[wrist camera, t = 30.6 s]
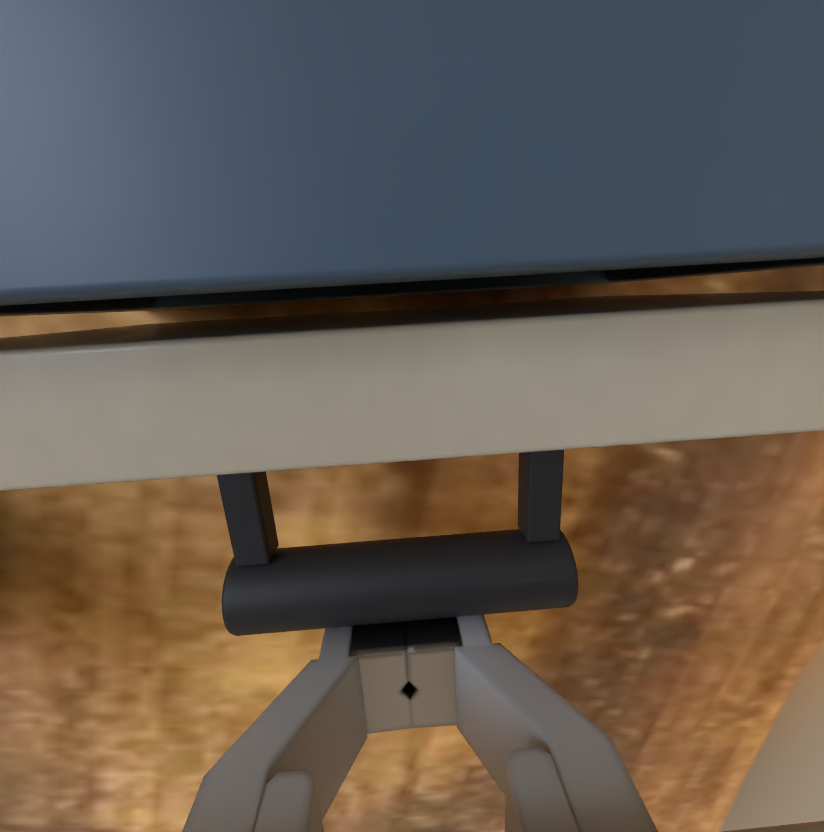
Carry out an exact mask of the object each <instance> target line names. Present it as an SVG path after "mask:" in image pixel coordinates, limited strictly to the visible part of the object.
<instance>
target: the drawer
mask: <svg viewBox="0 0 824 832" xmlns="http://www.w3.org/2000/svg"><path fill="white" fill-rule="evenodd" d="M822 430H824V291H797V292H755V293H714V294H672V295H630V296H603V297H586V298H570V299H553V300H537V301H520V302H504V303H488V304H471V305H455V306H438V307H422V308H406V309H389V310H373V311H356V312H340V313H323V314H307V315H291V316H274V317H258V318H241V319H225V320H208V321H192V322H176V323H159V324H145V325H135V326H124V327H114V328H103V329H93V330H82V331H72V332H61V333H50V334H40V335H29V336H19V337H8V338H0V491H6V490H19V489H33V488H47V487H60V486H74V485H87V484H101V483H115V482H128V481H142V480H155V479H169V478H183V477H196V476H210V475H217V478H218V482H219V487H220V492H221V497H222V501H223V506H224V511H225V516H226V520H227V525H228V530H229V534H230V539H231V544H232V549H233V553H234V558H233V559H232V561H231V562H230V564H229V567H228V569H227V572H226V576H225V580H224V585H223V592H222V614H223V620H224V624H225V627H226V629H227V630H228V632H229V633H231V634H233V635H236V636H240V635H252V634H263V633H275V632H286V631H298V630H310V629H321V628H333V627H344V626H356V625H367V624H379V623H390V622H402V621H413V620H425V619H436V618H448V617H459V616H471V615H482V614H494V613H505V612H517V611H528V610H540V609H551V608H563V607H569V606H571V605H573V604H574V603H575V601H576V599H577V595H578V575H577V568H576V563H575V559H574V555H573V552H572V550H571V547H570V544H569V542H568V540H567V538H566V537H565V535H564V534H563V532H562V531H561V530H560V519H561V500H562V481H563V461H564V449H577V448H590V447H604V446H618V445H631V444H645V443H658V442H672V441H686V440H699V439H713V438H726V437H740V436H754V435H767V434H781V433H794V432H808V431H822ZM509 453H519V484H518V527H519V529H515V530H502V531H490V532H477V533H465V534H452V535H440V536H427V537H415V538H402V539H390V540H377V541H365V542H352V543H340V544H327V545H315V546H302V547H290V548H277V547H278V539H277V534H276V528H275V522H274V516H273V511H272V505H271V499H270V493H269V488H268V482H267V476H266V471H278V470H291V469H305V468H319V467H332V466H346V465H359V464H373V463H387V462H400V461H414V460H427V459H441V458H455V457H468V456H482V455H495V454H509Z"/></svg>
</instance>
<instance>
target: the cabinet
mask: <svg viewBox="0 0 824 832" xmlns="http://www.w3.org/2000/svg"><path fill="white" fill-rule="evenodd" d="M823 265H824V0H0V316H23V315H49V314H75V313H101V312H126V311H149V310H165V309H182V308H199V307H216V306H232V305H249V304H266V303H283V302H299V301H316V300H333V299H350V298H366V297H383V296H400V295H416V294H433V293H450V292H467V291H483V290H500V289H517V288H534V287H550V286H567V285H584V284H600V283H617V282H629V281H642V280H654V279H666V278H678V277H690V276H702V275H714V274H726V273H738V272H750V271H763V270H775V269H787V268H799V267H811V266H823Z"/></svg>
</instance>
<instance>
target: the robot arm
mask: <svg viewBox="0 0 824 832" xmlns="http://www.w3.org/2000/svg"><path fill="white" fill-rule="evenodd" d="M450 725H457V728H458V729H459V731H460V732H461V733H462V735H463V736H464V738H465V739H466V741H467V742H468V743H469V745H470V746H471V748H472V749H473V750H474V752H475V753H476V755H477V756H478V758H479V759H480V760H481V762H482V763H483V765H484V766H485V767H486V769H487V770H488V772H489V773H490V775H491V776H492V777H493V779H494V780H495V782H496V783H497V784H498V786H499V787H500V789H501V790H502V792H503V793H504V794H505V796H506V809H505V832H658V831H657V829H656V827H655V825H654V823H653V821H652V819H651V817H650V815H649V813H648V811H647V809H646V807H645V805H644V803H643V801H642V799H641V797H640V795H639V793H638V791H637V789H636V787H635V785H634V783H633V781H632V779H631V777H630V775H629V773H628V771H627V769H626V767H625V765H624V763H623V761H622V759H621V757H620V755H619V753H618V751H617V749H616V747H615V745H614V743H613V741H612V739H611V737H610V736H608V735H607V734H606V733H605V732H604V731H602V730H601V729H600V728H599V727H598V726H597V725H595V724H594V723H593V722H592V721H591V720H589V719H588V718H587V717H586V716H585V715H584V714H582V713H581V712H580V711H579V710H578V709H577V708H575V707H574V706H573V705H572V704H571V703H569V702H568V701H567V700H566V699H565V698H564V697H562V696H561V695H560V694H559V693H558V692H557V691H555V690H554V689H553V688H552V687H551V686H549V685H548V684H547V683H546V682H545V681H544V680H542V679H541V678H540V677H539V676H538V675H537V674H535V673H534V672H533V671H532V670H531V669H529V668H528V667H527V666H526V665H525V664H524V663H522V662H521V661H520V660H519V659H518V658H516V657H515V656H514V655H513V654H512V653H511V652H509V651H508V650H507V649H506V648H505V647H504V646H502V645H501V644H500V643H497V644H492V641H491V638H490V634H489V631H488V628H487V624H486V621H485V618H484V614H482V615H471V616H459V617H448V618H436V619H425V620H413V621H402V622H390V623H379V624H367V625H356V626H344V627H333V628H325V632H324V637H323V641H322V646H321V651H320V656H319V659H317V660H311V661H310V662H309V663H308V664H307V665H306V666H305V667H304V668H303V670H302V671H301V672H300V673H299V674H298V675H297V676H296V677H295V678H294V679H293V680H292V681H291V683H290V684H289V685H288V686H287V687H286V688H285V689H284V690H283V691H282V692H281V693H280V694H279V696H278V697H277V698H276V699H275V700H274V701H273V702H272V703H271V704H270V705H269V706H268V707H267V709H266V710H265V711H264V712H263V713H262V714H261V715H260V716H259V717H258V718H257V719H256V720H255V722H254V723H253V724H252V725H251V726H250V727H249V728H248V729H247V730H246V731H245V732H244V733H243V734H242V736H241V737H240V738H239V739H238V740H237V741H236V742H235V743H234V744H233V745H232V746H231V747H230V749H229V750H228V751H227V752H226V753H225V754H224V755H223V756H222V757H221V758H220V759H219V760H218V762H217V763H216V764H215V765H214V766H213V767H212V768H211V769H210V770H209V771H208V772H207V773H206V775H205V776H204V778H203V781H202V783H201V786H200V788H199V791H198V793H197V796H196V798H195V801H194V803H193V806H192V808H191V811H190V813H189V816H188V818H187V821H186V823H185V826H184V828H183V831H182V832H324V829H323V823H322V820H323V818H324V816H325V814H326V813H327V811H328V809H329V807H330V805H331V803H332V801H333V800H334V798H335V796H336V794H337V792H338V790H339V788H340V787H341V785H342V783H343V781H344V779H345V777H346V775H347V774H348V772H349V770H350V768H351V766H352V764H353V762H354V761H355V759H356V757H357V755H358V753H359V751H360V749H361V748H362V746H363V744H364V742H365V740H366V738H367V734H368V733H376V732H384V731H392V730H399V729H407V728H419V727H434V726H450ZM724 832H824V821H818V822H808V823H799V824H789V825H780V826H771V827H761V828H752V829H743V830H733V831H724Z"/></svg>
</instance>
